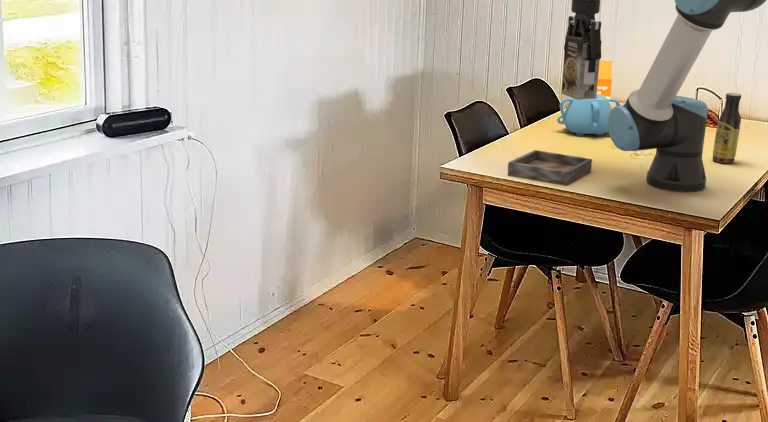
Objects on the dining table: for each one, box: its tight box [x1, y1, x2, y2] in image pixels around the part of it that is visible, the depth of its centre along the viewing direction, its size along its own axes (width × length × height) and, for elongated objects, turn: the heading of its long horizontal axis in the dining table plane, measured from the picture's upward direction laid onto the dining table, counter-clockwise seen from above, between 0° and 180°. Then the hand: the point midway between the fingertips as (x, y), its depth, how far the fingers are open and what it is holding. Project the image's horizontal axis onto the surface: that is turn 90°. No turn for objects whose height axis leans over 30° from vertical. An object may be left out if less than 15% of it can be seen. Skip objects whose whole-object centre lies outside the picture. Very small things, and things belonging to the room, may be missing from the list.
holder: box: [507, 149, 593, 186], centre depth 271 cm, size 17×17×4 cm
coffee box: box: [561, 35, 603, 100], centre depth 274 cm, size 9×6×16 cm
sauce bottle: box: [712, 92, 742, 164], centre depth 284 cm, size 6×6×20 cm
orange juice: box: [597, 59, 613, 104], centre depth 336 cm, size 8×9×20 cm
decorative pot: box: [556, 95, 621, 137], centre depth 317 cm, size 16×16×14 cm
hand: (579, 80), depth 276 cm, fingers closed on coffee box, 9 cm apart
